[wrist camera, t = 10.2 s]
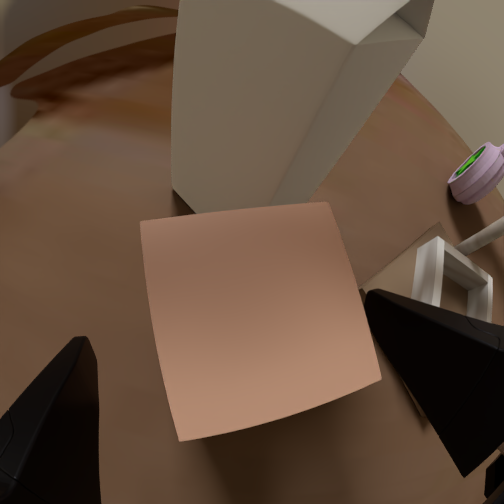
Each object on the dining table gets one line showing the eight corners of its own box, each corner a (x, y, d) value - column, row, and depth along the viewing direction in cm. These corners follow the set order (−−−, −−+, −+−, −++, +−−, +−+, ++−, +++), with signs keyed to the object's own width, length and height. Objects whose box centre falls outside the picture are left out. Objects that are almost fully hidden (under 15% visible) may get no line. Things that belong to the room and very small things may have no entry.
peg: (256, 373, 16) (381, 379, 6) (183, 388, 15) (179, 441, 4) (240, 303, 18) (328, 201, 7) (168, 315, 17) (139, 221, 6)
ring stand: (482, 328, 22) (557, 303, 13) (421, 416, 17) (521, 416, 9) (429, 228, 24) (499, 177, 16) (350, 293, 20) (449, 239, 11)
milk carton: (239, 261, 19) (422, -76, 2) (170, 187, 20) (200, -117, 3) (307, 203, 22) (464, -21, 5) (242, 143, 23) (324, -87, 5)
